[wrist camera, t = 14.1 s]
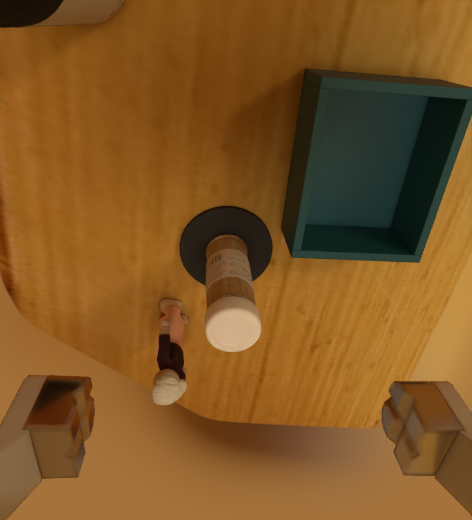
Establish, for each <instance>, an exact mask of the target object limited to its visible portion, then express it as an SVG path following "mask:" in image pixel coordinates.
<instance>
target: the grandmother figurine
mask: <svg viewBox="0 0 472 520" xmlns="http://www.w3.org/2000/svg"><path fill="white" fill-rule="evenodd" d="M182 308H183V304H182V302H181V301H179V300H173V299H163V300H161V301H160V303H159V309H160V310H161V312H163V313H165V316H163V317H162V318H161V319H160V320H159V350H158V356H157V362H158V365H159V369H160V371H159V372H158V373H157V374H156V375H155V377H154V380H153V390H152V397H153V401H154V402H155V403H156V404H158V405H168V404H171V403H173V402H175V401H177V400H178V399H179V398H180V397H181V396H182V394H183V393H184V392H185V391H186V389H187V387H188V386H187V383H186V381H185V378H186V375H185V374H186V369H185V368H184V367H183V365H184V358H183V350H182V337H183V331H184V325H186V324H187V323H188V321H189V320H188V317H187V316H186V315H184V314H181V312H180V311H181V310H182Z"/></svg>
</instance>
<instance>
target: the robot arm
mask: <svg viewBox="0 0 472 520" xmlns="http://www.w3.org/2000/svg"><path fill="white" fill-rule="evenodd" d="M91 389H92V383H91V378H90V377H79V376H54V375H53V376H52V375H49V376H45V375H44V376H43V375H28V376H27V377H26V378H25V379H24V381H23V382H22V384H21V386H20V388H19V390H18V392H17V394H16V396H15V398H14V400H13V401H12V403H11V405H10V407H9V409H8V411H7V413H6V415H5V417H4V418H3V420H2V423H1V424H0V520H6V519H7V518H8V517H9V516H10V515H11V514H12V513H13V512H14V511H15V510H16V509H17V508H18V506H19V505H20V504H21V503H22V502H23V501H24V500H25V499H26V498H27V497H28V496H29V494H30V493H31V492H32V491H33V490H34V489H35V488H36V487H37V486H38V485H39V484H40V483H41V481H42V479H46V478H77V477H78V476H79V473H80V469H81V466H82V462H83V459H84V456H85V446H84V441H86V440H87V439H88V438H89V437H90V435H91V431H92V427H93V422H94V415H95V404H94V399H93V398H92V397H91V396H90V392H91ZM389 392H390V394H391V397H390V398H389V399H388V400H386V401H385V402H384V405H383V408H382V424H383V428H384V431H385V433H386V436H387V437H388V438H389V439H390V440H391V441H392V442H393V443H395V444H396V445H395V448H394V454H395V457H396V459H397V461H398V463H399V466H400V468H401V470H402V473H403V475H412V476H435V479H436V480H437V481H438V482H439V483H440V484H441V485H442V486H443V487H444V488H445V489H446V490H447V491H448V492H449V493H450V494H451V495H452V496H453V497H454V498H455V499H456V500H457V501H458V502H459V503H460V504H461V505H462V506H463V507H464V508H465V509H466V510H467V511H468V512H469V513H470V514H471V515H472V413H471V411H470V410H469V408H468V407H467V405H466V404H465V402H464V401H463V399H462V398H461V396H460V395H459V393H458V392H457V390H456V389H455V388H454V386H453V385H452V384H451V383H450V382H448V381H430V382H428V381H394V382H393V383H392V384H391V386H390V389H389Z"/></svg>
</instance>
